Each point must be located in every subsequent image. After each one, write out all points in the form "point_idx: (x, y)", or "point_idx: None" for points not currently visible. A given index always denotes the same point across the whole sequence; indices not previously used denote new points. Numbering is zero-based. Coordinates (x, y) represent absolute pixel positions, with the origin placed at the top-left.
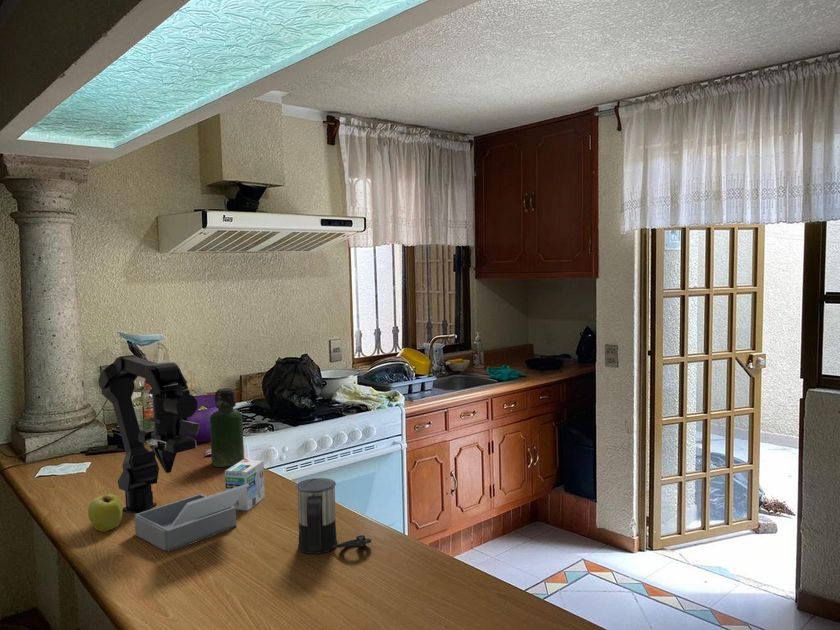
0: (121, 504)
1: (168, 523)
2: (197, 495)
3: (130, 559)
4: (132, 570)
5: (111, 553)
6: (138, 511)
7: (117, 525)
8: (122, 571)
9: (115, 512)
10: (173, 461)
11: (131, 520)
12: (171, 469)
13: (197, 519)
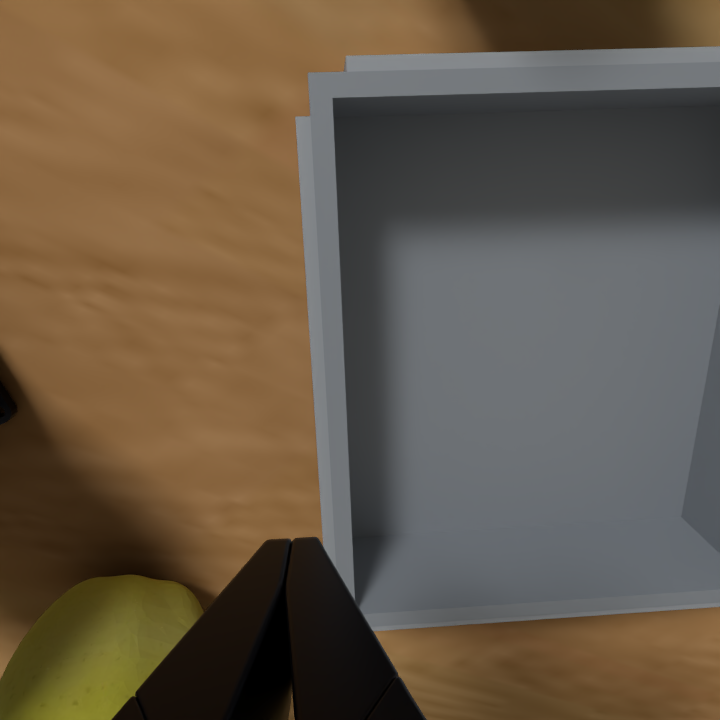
0: (139, 665)
1: (368, 382)
2: (326, 124)
3: (592, 646)
4: (693, 672)
5: (462, 675)
6: (5, 420)
7: (194, 595)
8: (664, 696)
9: None
10: (389, 664)
11: (105, 482)
12: (327, 557)
13: (461, 223)
